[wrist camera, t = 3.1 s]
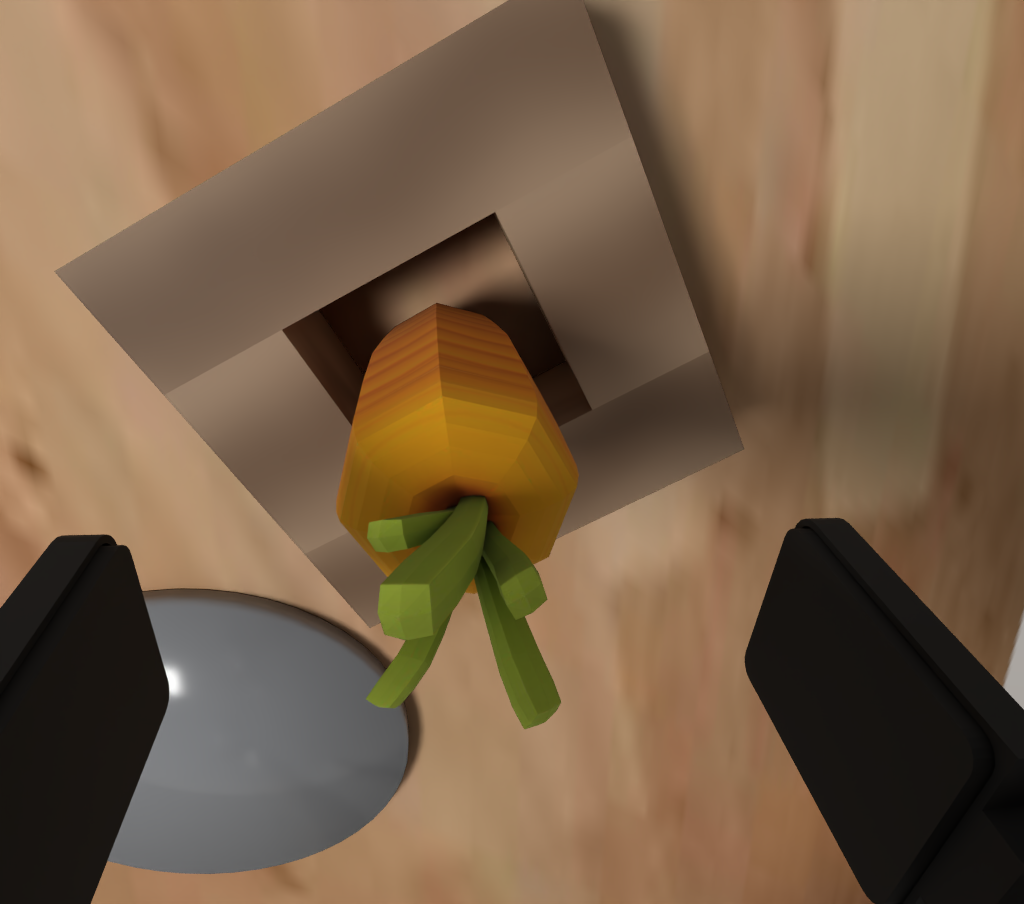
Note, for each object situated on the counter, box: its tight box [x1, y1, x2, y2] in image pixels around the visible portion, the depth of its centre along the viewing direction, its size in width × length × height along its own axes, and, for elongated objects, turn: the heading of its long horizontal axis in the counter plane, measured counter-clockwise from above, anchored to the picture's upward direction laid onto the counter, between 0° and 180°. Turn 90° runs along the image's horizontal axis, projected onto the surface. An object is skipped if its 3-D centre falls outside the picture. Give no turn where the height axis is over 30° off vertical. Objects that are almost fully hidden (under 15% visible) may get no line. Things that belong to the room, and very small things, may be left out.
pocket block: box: [54, 0, 744, 628], centre depth 20 cm, size 14×14×4 cm
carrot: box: [336, 303, 579, 729], centre depth 15 cm, size 5×5×15 cm
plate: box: [107, 589, 409, 874], centre depth 30 cm, size 18×18×1 cm
